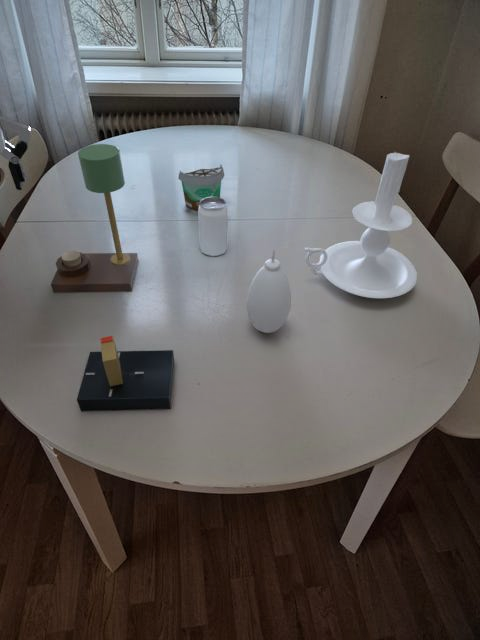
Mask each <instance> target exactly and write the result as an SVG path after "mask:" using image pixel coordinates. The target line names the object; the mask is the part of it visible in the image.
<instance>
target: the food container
mask: <svg viewBox="0 0 480 640" xmlns="http://www.w3.org/2000/svg"><path fill="white" fill-rule="evenodd" d="M219 166H220V167H215V168H199V169H196V170H194V171H190V172H189V171H188V172H182V171H181V170H179V172H178V180H179V181H181V187H182V192H183V197H184V203H185V206H186V207H187V208H188V209H189V210H191V211H195V212H198V208H199V206H200V201H201V200H202V199H204V198H207V197H219V198H221V188H222V181H223V179H224V178H225V170H224V167H223V165H222V164H221V163H220V164H219Z"/></svg>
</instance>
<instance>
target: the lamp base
mask: <svg viewBox="0 0 480 640" xmlns="http://www.w3.org/2000/svg"><path fill="white" fill-rule="evenodd" d="M78 252H79V251H78ZM124 253H125V254H128V255H129V256H130V262H129V263H128V264H126V265H124V266H115V265H113V264H112V263H111V257H112V256H113V255H115V254H116V252H106V253H105V252H99V253H98V252H97V253H95V252H94V253H93V252H92V253H91V252H89V253H87V252H85V253H84V252H79V254H80V257H81V260H82V262H81V264H79V265H78V266H74V267H66V266H65V265H64V263H63V260H62V255H61V256H60V257H58V258H56V259H57V260H56V262H55V267H56V270H55V274H54V276H53V278H52V280H51V282H50V286H51V289H52V292H53V293H123V292H124V293H125V292H126V293H129V292H133V288H134V283H135V279H136V274H137V270H138V264H139V256H138V253H137V252H124Z"/></svg>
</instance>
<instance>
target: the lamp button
mask: <svg viewBox="0 0 480 640" xmlns="http://www.w3.org/2000/svg"><path fill="white" fill-rule="evenodd" d="M61 256H62V260H63V263H64V265H65V266H66V267H74V266H78V265H79V264H81V262H82V260H81V257H80V254H79V251H76V250H69V251H66V252H64V253H63V254H62V255H61Z"/></svg>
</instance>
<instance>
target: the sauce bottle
mask: <svg viewBox="0 0 480 640" xmlns="http://www.w3.org/2000/svg"><path fill="white" fill-rule="evenodd" d="M275 251H276V250H275V249H273V250H272V253H271V258H269V259H267V260H266V261H265V262H264V265H263V266H261V268H260V269H259V270H258V271H257V272H256V274H255V276H254V277H253V279H252V281H251V283H250V286H249V288H248V292H247V296H246V312H247V316H248V319H249V321H250V323H251V324H252V326H253V327H254V328H255V329H256V330H257V331H259V332H261V333H265V334H271V333H274V332H277V331H279V329H280V328H282V326H284V324H285V323H286V321H287V320H288V318H289V314H290V312H291V309H292V308H291V307H292V291H291V289H292V288H291V285H290V282H289V279H288V277H287V274H286V272H285V270H284V269H283V268H282V267H281V262H280V261H279V260H277V259H275V255H276V253H275Z"/></svg>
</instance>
